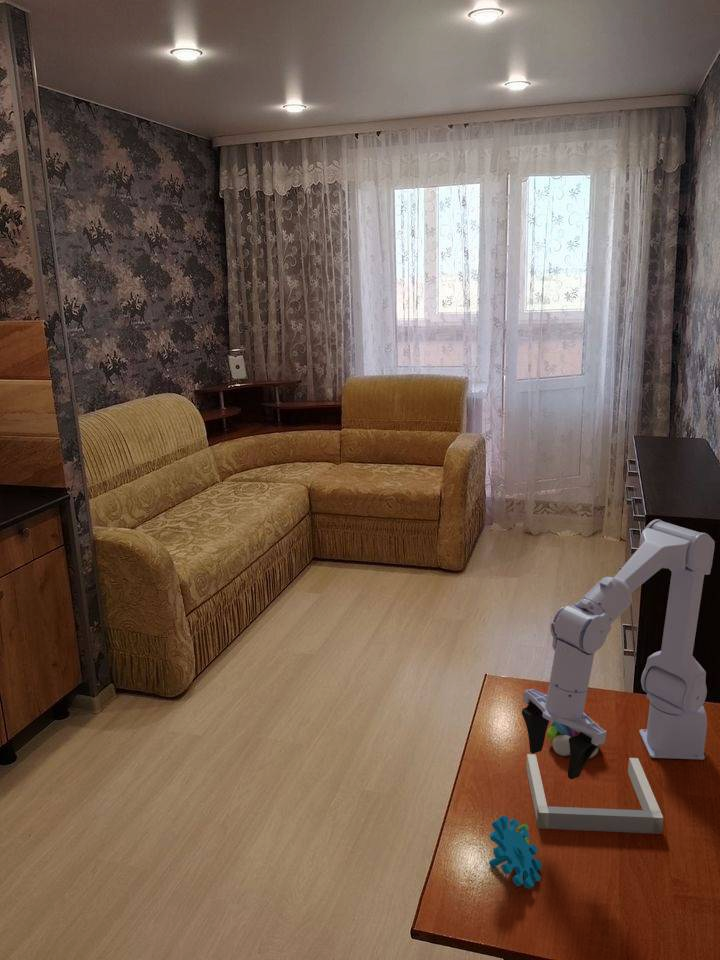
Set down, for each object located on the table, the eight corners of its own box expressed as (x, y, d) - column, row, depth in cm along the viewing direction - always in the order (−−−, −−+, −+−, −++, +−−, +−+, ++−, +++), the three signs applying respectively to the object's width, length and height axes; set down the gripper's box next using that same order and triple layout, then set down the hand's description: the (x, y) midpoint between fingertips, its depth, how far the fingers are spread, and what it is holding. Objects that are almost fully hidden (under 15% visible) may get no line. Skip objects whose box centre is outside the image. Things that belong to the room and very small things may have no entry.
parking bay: (636, 772, 131) (638, 758, 130) (661, 833, 117) (663, 817, 116) (526, 768, 132) (527, 754, 131) (538, 828, 118) (539, 812, 118)
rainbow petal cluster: (603, 764, 133) (606, 729, 131) (547, 758, 135) (549, 723, 133) (598, 735, 141) (601, 701, 139) (545, 730, 143) (547, 697, 141)
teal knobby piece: (533, 900, 103) (488, 836, 105) (501, 915, 106) (458, 852, 108) (553, 855, 113) (512, 797, 115) (524, 870, 115) (484, 813, 118)
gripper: (515, 668, 118) (502, 746, 121) (591, 710, 107) (574, 796, 109) (545, 661, 122) (532, 736, 125) (620, 701, 111) (604, 783, 113)
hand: (554, 763), depth 117 cm, fingers open, 7 cm apart
